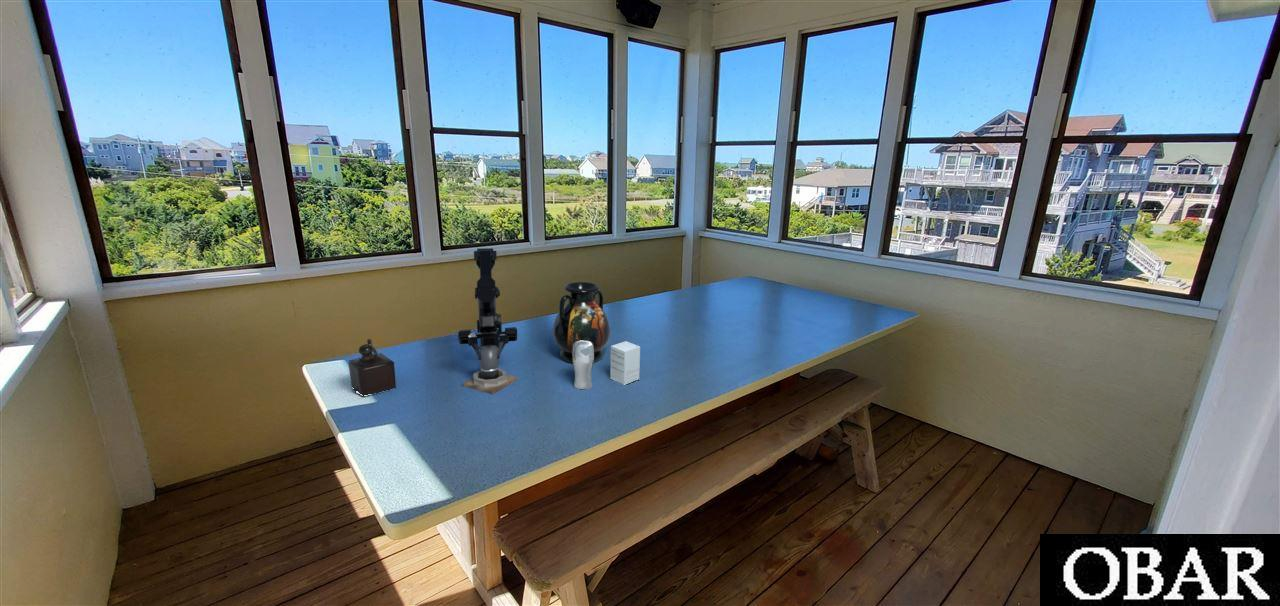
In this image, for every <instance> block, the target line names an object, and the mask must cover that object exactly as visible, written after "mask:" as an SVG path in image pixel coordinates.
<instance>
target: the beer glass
mask: <svg viewBox="0 0 1280 606" xmlns="http://www.w3.org/2000/svg"><path fill="white" fill-rule="evenodd" d="M572 357H573V363H572V364H573V371H574V382H573V387H574V388H575V389H576V388H577V390H579V389H586V390H589V389H591V388H592V387H593V382H592V372H593V371H592V370H593V367H594V366H593V365H594V362H593V361H594V348H593V343H592V342H591V341H586V340H581V341H576V342H574V343H573V354H572ZM590 387H591V388H590ZM588 388H589V389H588Z"/></svg>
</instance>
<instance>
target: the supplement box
mask: <svg viewBox="0 0 1280 606" xmlns="http://www.w3.org/2000/svg"><path fill="white" fill-rule="evenodd" d="M640 362H641V346H639V345H637V344H634V343H632V342H629V341H627V340H625V341H622V342H619V343H616V344H615V343H614V344H613V345H610V374H609V375H610V376H609V377H610V380H611V379H612V380H614V381H617V382H619V383H621V384H623V385H626V384H628V383H631V382H633V381H635V380H638V379H639V380H640V365H641V363H640ZM612 380H611V381H612ZM614 381H613V382H614ZM619 383H618V384H619ZM621 384H620V385H621ZM631 384H632V383H631ZM623 385H622V386H623ZM626 386H627V385H626Z"/></svg>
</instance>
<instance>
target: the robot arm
mask: <svg viewBox="0 0 1280 606" xmlns="http://www.w3.org/2000/svg"><path fill="white" fill-rule="evenodd" d="M497 257H498V255H497V250H494V248H492V247H491V248H485V247H482V248H476V250H473V261H475V264H476V266H477V268H478V270H479V279H478V280H477V281H476V287H474V299H475V300H477V305H478V319H477V320H476V328H477V332H472V330H471V329H460V330H459V331H458V332H457V337H458V344H459V345H468V346H469V347H472V349H473V350H474V352H475V354H476V356H477V358H478V361H480V347H482V346H485V345H495V346H497V347H498V360H500V359H501V355H502V352H503V349H504V348H505V346H506V344H507V345H508V344H509V342H516V341H518V328H517V327H515V326H511V327H504V331H503V330H502V329H503V328H502V326H503V324H502V315H501V313H497V307H496V306H497V304H496V303H497V302H496V301H497V299H498V298H499V297H500V296H501V293H500V292H501V290H500V289H499V287H498V286H496V280H495V279H494V278H493V277H492V275H493V274H492V271H493V269H494V268H495V266H496V261H497V260H498V259H497ZM478 340H480V346H479V343H478V342H479V341H478Z"/></svg>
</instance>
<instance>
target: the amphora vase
mask: <svg viewBox="0 0 1280 606" xmlns="http://www.w3.org/2000/svg"><path fill="white" fill-rule="evenodd" d="M563 288H564V290H565V292H568V293H569V294H568V295H567V294H566V295H563V296H561V298H560V300H559V305H558V306H559V307H558V309H559V311H558V312H557V315H556V316H555V319H554V323H553V327H552V337H553V340H554V342H555V345H556V346H557V347H558V348H559V349H560V351H559V356H560V358H561V359H562V360H563V361H565V362H567V363H570V364H571V363H572V364H573V357H572V354H573V343H574V342H576V341H581V340H586V341H591V342H592V343H593V348H594V361H593V363H595V362H597V361H600V359H602V357H603V356H604V350H603V349H604V348H605V347H606V345H607V344H608V343H609V340H610V337H611V326H610V321H609V318H608V316H607V314H606V312H605V311H604V295H603V292H602V291H601V290H600V286H599V285H598V284H597V283H593V282H588V281H587V282H584V281H578V282H569V283H567V284H565V285H564V287H563ZM596 295H598V303H597V302H596V300H595V298H596V297H595V296H596ZM567 299H568V301H567V302H566V300H567ZM565 302H566V304H565Z"/></svg>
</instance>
